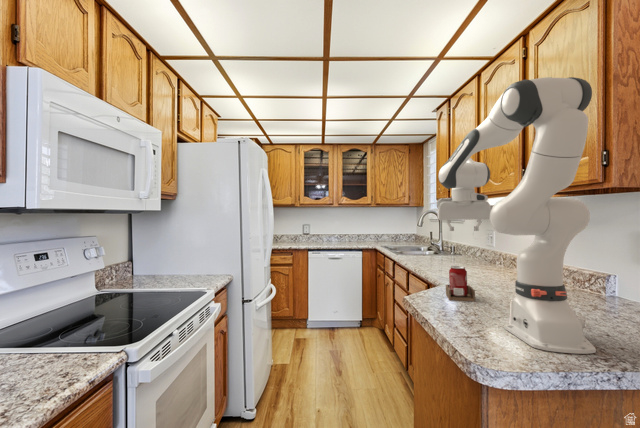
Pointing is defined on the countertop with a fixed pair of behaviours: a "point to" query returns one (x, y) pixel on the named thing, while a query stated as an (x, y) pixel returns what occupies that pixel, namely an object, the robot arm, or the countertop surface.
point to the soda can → (458, 281)
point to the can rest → (469, 297)
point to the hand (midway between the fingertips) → (464, 230)
